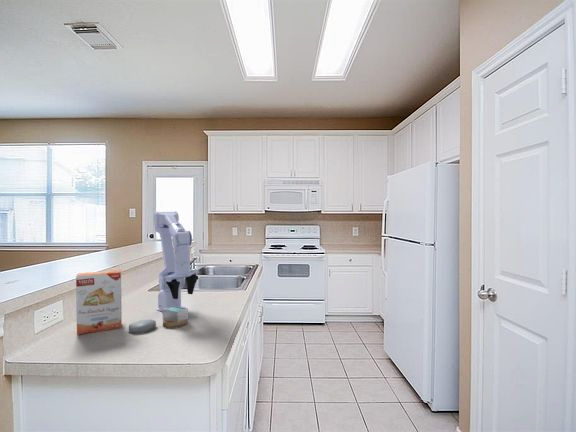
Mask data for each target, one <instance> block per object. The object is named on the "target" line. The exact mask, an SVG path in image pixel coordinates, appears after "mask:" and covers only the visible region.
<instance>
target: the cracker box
mask: <svg viewBox="0 0 576 432" xmlns="http://www.w3.org/2000/svg"><path fill="white" fill-rule="evenodd" d="M121 271H122V270H119V269H118V270H103V271H94V272H93V271H91V272H81V273H78V274H77V275H76V276H75V281H76V282H75V285H76V286H75V289H76V290H75V293H76V294H75V296H76V299H75V300H76V301H75V303H76V305H75V306H76V310H75V311H76V335H82V334H90V333H93V332H94V333H96V332H101V331H107V330H108V331H109V330H114V329H120V328H122V322H123V321H122V320H123V319H122V313H123V312H122V311H123V310H122V272H121Z"/></svg>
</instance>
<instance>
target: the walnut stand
mask: <svg viewBox="0 0 576 432" xmlns="http://www.w3.org/2000/svg"><path fill="white" fill-rule="evenodd" d="M188 323H189V318H188V319H186V320H183V321H181V322H178V323H177V322H172V321H167V320H163V319H162V327H163V328H165V327H166V329H176V327H177V328H182V327H184V326H186V325H187V324H188ZM181 326H182V327H181Z"/></svg>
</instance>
